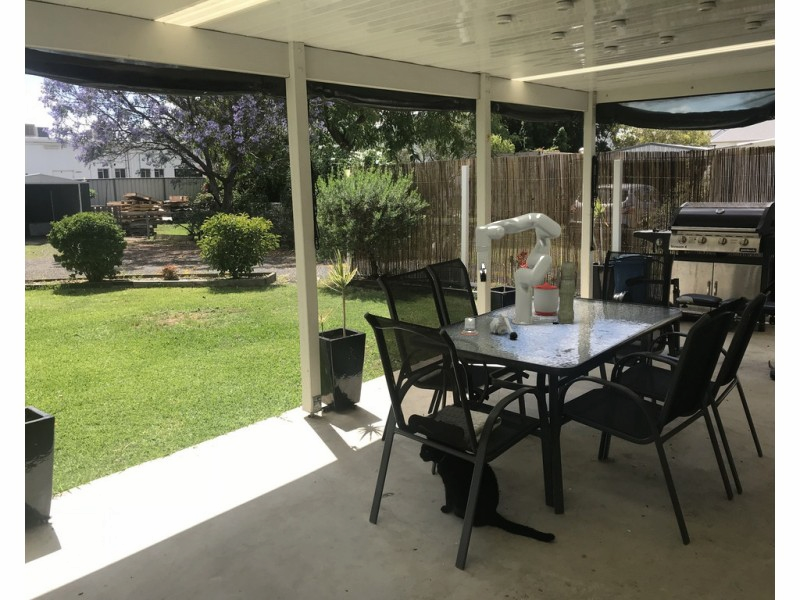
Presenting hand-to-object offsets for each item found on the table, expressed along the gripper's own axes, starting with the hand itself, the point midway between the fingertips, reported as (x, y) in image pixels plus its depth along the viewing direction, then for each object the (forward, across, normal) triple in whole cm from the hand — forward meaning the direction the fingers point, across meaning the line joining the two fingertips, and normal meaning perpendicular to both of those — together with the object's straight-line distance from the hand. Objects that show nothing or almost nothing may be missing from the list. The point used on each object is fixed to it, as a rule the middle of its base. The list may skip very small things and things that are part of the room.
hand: (483, 280), depth 351 cm
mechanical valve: (+27, +20, +11) cm, 35 cm away
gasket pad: (+26, +16, -8) cm, 31 cm away
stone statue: (+29, -16, +47) cm, 57 cm away
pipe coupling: (+25, +16, -8) cm, 31 cm away
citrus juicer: (+29, -42, +39) cm, 64 cm away
